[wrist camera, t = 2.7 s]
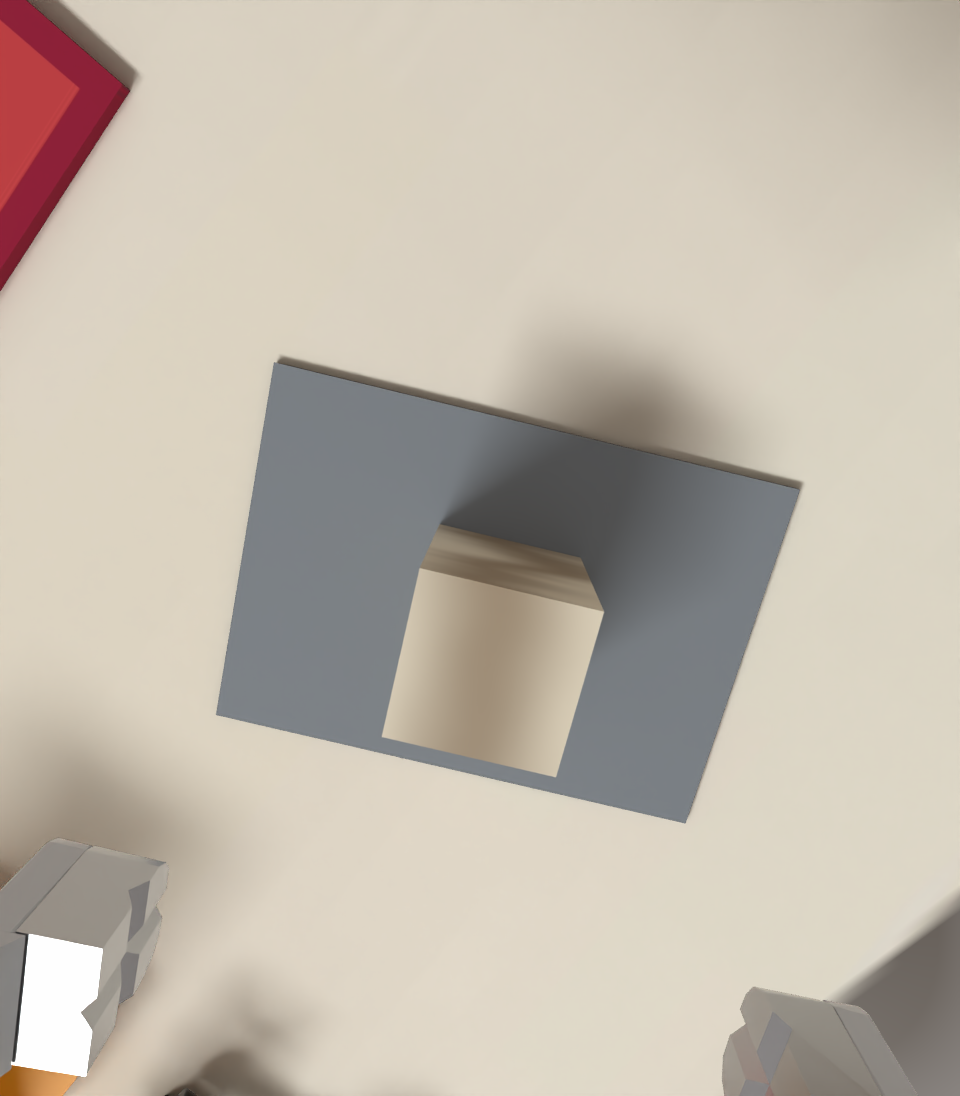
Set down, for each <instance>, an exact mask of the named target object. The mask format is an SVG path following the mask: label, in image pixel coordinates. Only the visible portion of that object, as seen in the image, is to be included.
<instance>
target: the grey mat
mask: <svg viewBox="0 0 960 1096" xmlns="http://www.w3.org/2000/svg"><path fill="white" fill-rule="evenodd" d="M799 491H800V490H799V489H796V488H792V487H788V486H783V485H779V484H775V483H771V482H767V481H763V480H759V479H755V478H750V477H746V476H742V475H738V474H734V473H730V472H726V471H722V470H717V469H713V468H709V467H705V466H701V465H697V464H693V463H688V462H684V461H680V460H676V459H672V458H668V457H664V456H660V455H655V454H651V453H647V452H643V451H639V450H635V449H631V448H627V447H622V446H618V445H614V444H610V443H606V442H602V441H598V440H594V439H589V438H585V437H581V436H577V435H573V434H569V433H565V432H561V431H556V430H552V429H548V428H544V427H540V426H536V425H532V424H527V423H523V422H519V421H515V420H511V419H507V418H503V417H499V416H494V415H490V414H486V413H482V412H478V411H474V410H470V409H466V408H461V407H457V406H453V405H449V404H445V403H441V402H437V401H433V400H428V399H424V398H420V397H416V396H412V395H408V394H404V393H400V392H395V391H391V390H387V389H383V388H379V387H375V386H371V385H366V384H362V383H358V382H354V381H350V380H346V379H342V378H338V377H333V376H329V375H325V374H321V373H317V372H313V371H309V370H305V369H300V368H296V367H292V366H288V365H284V364H280V363H275V362H274V366H273V372H272V378H271V384H270V390H269V396H268V402H267V408H266V414H265V421H264V427H263V433H262V439H261V445H260V451H259V457H258V463H257V469H256V475H255V481H254V487H253V493H252V499H251V506H250V512H249V518H248V524H247V530H246V536H245V542H244V548H243V554H242V560H241V566H240V572H239V578H238V585H237V591H236V597H235V603H234V609H233V615H232V621H231V627H230V633H229V639H228V645H227V651H226V657H225V664H224V670H223V676H222V682H221V688H220V694H219V700H218V706H217V712H216V715H219V716H223V717H227V718H232V719H236V720H240V721H245V722H249V723H253V724H258V725H262V726H266V727H271V728H275V729H279V730H284V731H288V732H292V733H297V734H301V735H305V736H310V737H314V738H318V739H323V740H327V741H331V742H336V743H340V744H344V745H349V746H353V747H357V748H362V749H366V750H370V751H374V752H379V753H383V754H387V755H392V756H396V757H400V758H405V759H409V760H413V761H418V762H422V763H426V764H431V765H435V766H439V767H444V768H448V769H452V770H457V771H461V772H465V773H470V774H474V775H478V776H483V777H487V778H491V779H496V780H500V781H504V782H509V783H513V784H517V785H521V786H526V787H530V788H534V789H539V790H543V791H547V792H552V793H556V794H560V795H565V796H569V797H573V798H578V799H582V800H586V801H591V802H595V803H599V804H604V805H608V806H612V807H617V808H621V809H625V810H630V811H634V812H638V813H643V814H647V815H651V816H656V817H660V818H664V819H668V820H673V821H677V822H681V823H686V820H687V817H688V814H689V812H690V809H691V806H692V803H693V800H694V797H695V794H696V791H697V788H698V785H699V782H700V779H701V777H702V774H703V771H704V768H705V765H706V762H707V759H708V756H709V753H710V750H711V747H712V745H713V742H714V739H715V736H716V733H717V730H718V727H719V724H720V721H721V718H722V715H723V712H724V710H725V707H726V704H727V701H728V698H729V695H730V692H731V689H732V686H733V683H734V680H735V677H736V675H737V672H738V669H739V666H740V663H741V660H742V657H743V654H744V651H745V648H746V645H747V643H748V640H749V637H750V634H751V631H752V628H753V625H754V622H755V619H756V616H757V613H758V610H759V608H760V605H761V602H762V599H763V596H764V593H765V590H766V587H767V584H768V581H769V578H770V575H771V573H772V570H773V567H774V564H775V561H776V558H777V555H778V552H779V549H780V546H781V543H782V541H783V538H784V535H785V532H786V529H787V526H788V523H789V520H790V517H791V514H792V511H793V508H794V506H795V503H796V500H797V497H798V494H799ZM439 524H441V525H446V526H450V527H454V528H458V529H462V530H467V531H471V532H475V533H479V534H483V535H488V536H492V537H496V538H500V539H504V540H508V541H513V542H517V543H521V544H525V545H529V546H534V547H538V548H542V549H546V550H550V551H555V552H559V553H563V554H567V555H571V556H576V557H580V558H581V560H582V562H583V564H584V567H585V569H586V571H587V574H588V576H589V578H590V580H591V583H592V585H593V587H594V590H595V592H596V594H597V596H598V599H599V601H600V603H601V606H602V608H603V610H604V614H603V618H602V621H601V624H600V628H599V631H598V635H597V638H596V642H595V645H594V648H593V652H592V655H591V659H590V662H589V666H588V669H587V673H586V676H585V679H584V683H583V686H582V690H581V693H580V697H579V700H578V703H577V707H576V710H575V714H574V717H573V721H572V724H571V728H570V731H569V734H568V738H567V741H566V745H565V748H564V752H563V755H562V759H561V762H560V765H559V769H558V772H557V776H556V777H552V776H548V775H544V774H539V773H535V772H531V771H526V770H522V769H518V768H514V767H509V766H505V765H501V764H496V763H492V762H488V761H483V760H479V759H475V758H470V757H466V756H462V755H457V754H453V753H449V752H445V751H440V750H436V749H432V748H427V747H423V746H419V745H414V744H410V743H406V742H401V741H397V740H393V739H388V738H384V737H382V733H383V729H384V724H385V720H386V715H387V711H388V706H389V702H390V698H391V693H392V689H393V684H394V680H395V675H396V671H397V666H398V662H399V658H400V653H401V649H402V644H403V640H404V635H405V631H406V626H407V622H408V617H409V613H410V609H411V604H412V600H413V595H414V591H415V586H416V582H417V577H418V573H419V569H420V566H421V564H422V562H423V559H424V557H425V555H426V553H427V551H428V548H429V546H430V544H431V542H432V540H433V537H434V535H435V533H436V531H437V529H438V526H439Z"/></svg>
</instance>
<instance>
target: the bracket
mask: <svg viewBox="0 0 960 1096" xmlns="http://www.w3.org/2000/svg"><path fill="white" fill-rule="evenodd" d="M77 1077H78V1075H74V1074H67V1073H61V1072H55V1071H49V1070H43V1069H37V1068H31V1067H25V1066H19V1065H13V1064H12V1067H11V1070H9V1071H8V1072H7V1073H5V1074H4V1075H2V1076H1V1077H0V1096H63V1095H64V1093H65V1092H66V1091H67V1090H68V1088H69V1087H70V1086H71V1085H72V1083H73V1082H74V1081H75V1080H76V1078H77Z"/></svg>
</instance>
